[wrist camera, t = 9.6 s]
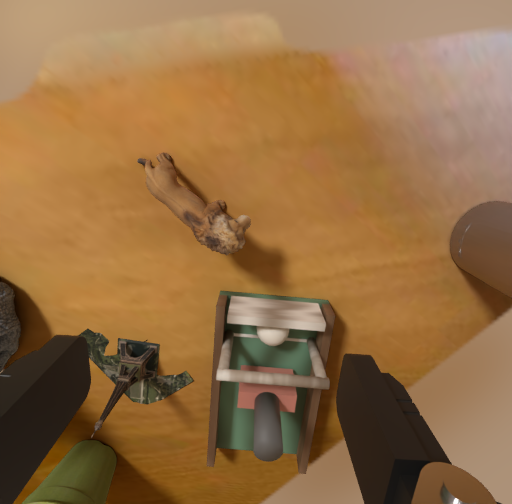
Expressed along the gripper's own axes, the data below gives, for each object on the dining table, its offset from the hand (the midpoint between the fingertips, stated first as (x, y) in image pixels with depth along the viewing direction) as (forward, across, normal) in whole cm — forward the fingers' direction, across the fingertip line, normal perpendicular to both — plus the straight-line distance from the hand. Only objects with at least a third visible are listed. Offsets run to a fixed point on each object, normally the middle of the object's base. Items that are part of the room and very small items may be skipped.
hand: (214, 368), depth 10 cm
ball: (+26, -4, +14) cm, 30 cm away
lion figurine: (+30, +6, -1) cm, 30 cm away
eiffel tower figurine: (+30, +14, +22) cm, 40 cm away
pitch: (+29, -4, +24) cm, 38 cm away
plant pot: (+30, +21, +40) cm, 54 cm away
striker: (+28, -4, +22) cm, 36 cm away
